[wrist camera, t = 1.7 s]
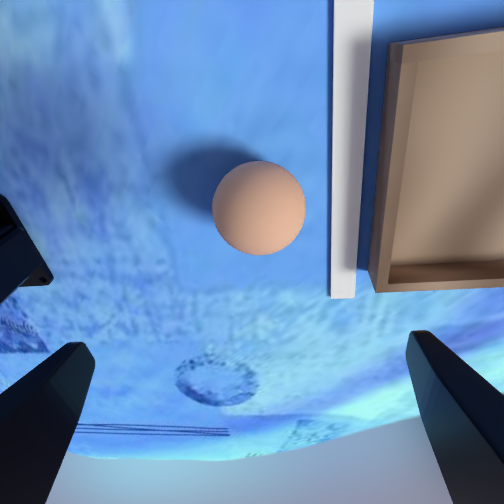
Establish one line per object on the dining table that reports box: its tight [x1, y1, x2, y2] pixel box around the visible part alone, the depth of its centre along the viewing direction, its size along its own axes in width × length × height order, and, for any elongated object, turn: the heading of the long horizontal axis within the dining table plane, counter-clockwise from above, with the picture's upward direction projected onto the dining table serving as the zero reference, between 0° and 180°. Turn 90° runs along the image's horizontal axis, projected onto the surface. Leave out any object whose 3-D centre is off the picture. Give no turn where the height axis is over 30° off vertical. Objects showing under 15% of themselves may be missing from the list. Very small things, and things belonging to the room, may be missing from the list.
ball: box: [212, 161, 306, 255], centre depth 16 cm, size 4×4×4 cm
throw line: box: [331, 0, 374, 299], centre depth 17 cm, size 2×16×1 cm, turn 8°
